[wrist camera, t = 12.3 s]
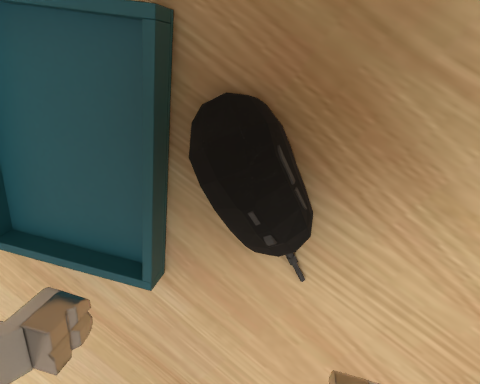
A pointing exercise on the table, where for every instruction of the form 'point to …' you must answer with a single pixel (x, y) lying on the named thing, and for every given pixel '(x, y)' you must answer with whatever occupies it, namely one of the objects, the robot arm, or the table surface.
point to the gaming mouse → (251, 175)
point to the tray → (86, 135)
